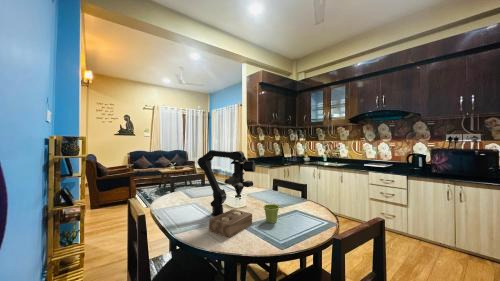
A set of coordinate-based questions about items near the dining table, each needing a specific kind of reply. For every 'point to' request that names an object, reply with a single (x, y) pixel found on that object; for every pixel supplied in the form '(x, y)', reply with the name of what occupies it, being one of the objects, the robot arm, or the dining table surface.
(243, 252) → the dining table surface
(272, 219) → the plant pot
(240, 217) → the jig block
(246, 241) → the dining table surface
